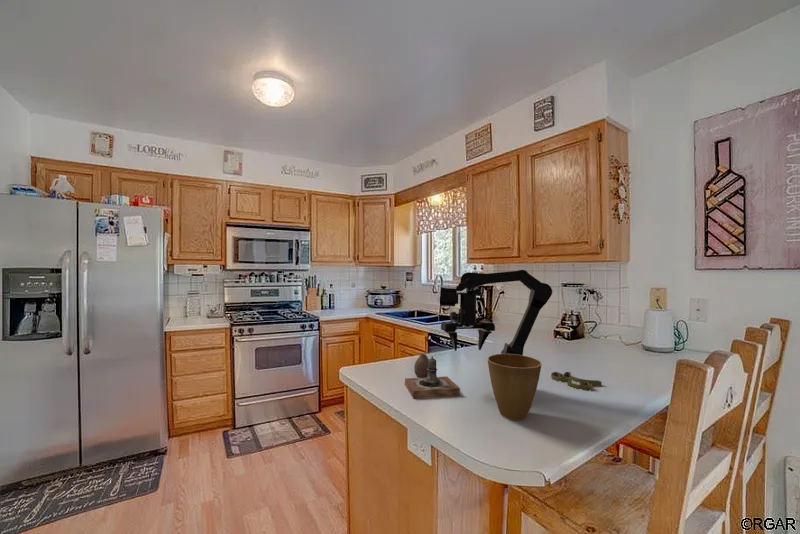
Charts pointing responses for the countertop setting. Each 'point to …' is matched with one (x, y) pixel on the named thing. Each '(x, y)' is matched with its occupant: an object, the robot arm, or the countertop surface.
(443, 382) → the bore block
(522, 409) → the plant pot
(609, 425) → the countertop surface
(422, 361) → the vase
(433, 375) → the grey chess piece
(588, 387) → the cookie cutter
